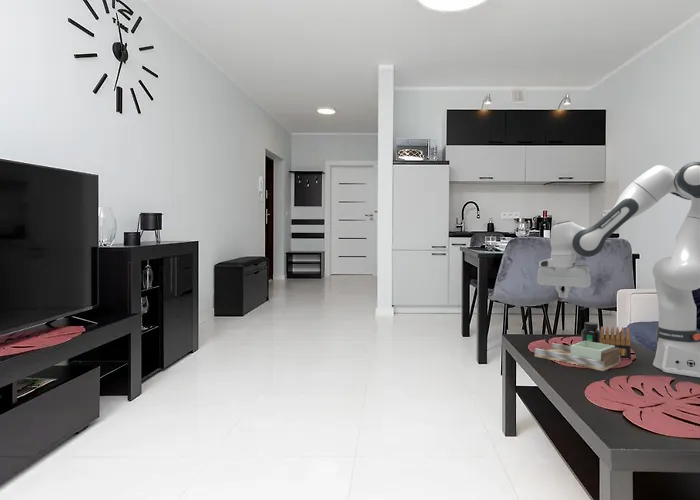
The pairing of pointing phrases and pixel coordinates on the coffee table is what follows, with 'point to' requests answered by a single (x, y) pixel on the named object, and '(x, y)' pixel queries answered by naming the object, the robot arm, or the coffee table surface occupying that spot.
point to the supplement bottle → (591, 332)
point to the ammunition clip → (617, 341)
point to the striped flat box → (564, 355)
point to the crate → (590, 350)
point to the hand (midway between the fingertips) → (563, 297)
